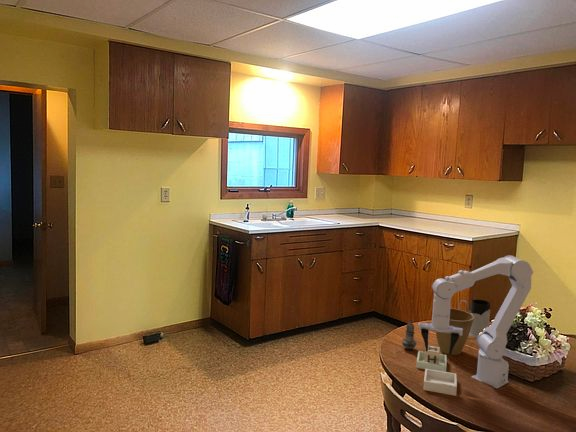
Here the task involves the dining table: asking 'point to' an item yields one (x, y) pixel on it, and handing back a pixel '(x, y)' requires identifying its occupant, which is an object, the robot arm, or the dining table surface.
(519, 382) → the dining table surface
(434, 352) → the letter block
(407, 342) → the salt shaker
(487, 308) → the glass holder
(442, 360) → the sage tray
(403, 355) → the dining table surface
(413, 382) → the dining table surface
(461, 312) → the plant pot
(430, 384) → the white tray
